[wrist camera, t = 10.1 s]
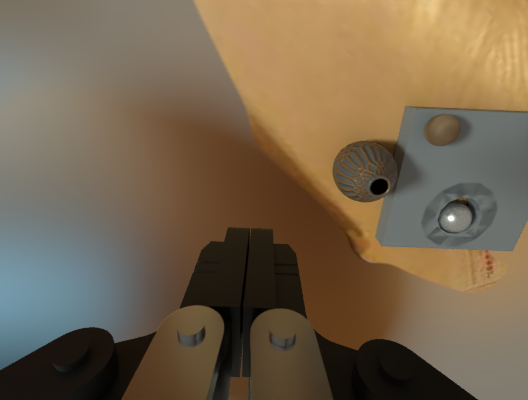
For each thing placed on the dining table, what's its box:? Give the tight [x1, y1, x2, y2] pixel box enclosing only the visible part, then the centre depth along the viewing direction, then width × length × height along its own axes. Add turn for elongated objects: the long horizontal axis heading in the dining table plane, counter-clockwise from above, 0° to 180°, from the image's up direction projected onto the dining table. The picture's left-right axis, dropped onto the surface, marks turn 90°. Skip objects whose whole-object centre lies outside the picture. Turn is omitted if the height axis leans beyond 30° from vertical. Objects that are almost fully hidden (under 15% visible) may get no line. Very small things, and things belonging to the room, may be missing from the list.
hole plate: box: [375, 106, 528, 251], centre depth 36 cm, size 18×18×2 cm
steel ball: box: [438, 202, 472, 232], centre depth 37 cm, size 4×4×4 cm
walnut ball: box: [424, 114, 461, 146], centre depth 30 cm, size 3×3×3 cm
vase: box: [333, 141, 397, 202], centre depth 32 cm, size 7×7×9 cm
